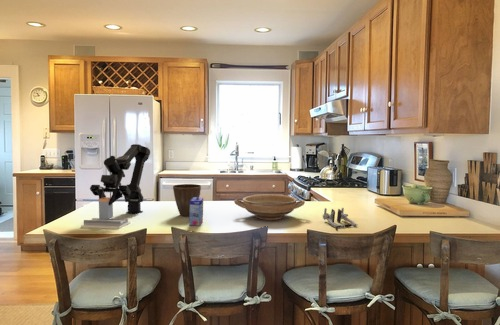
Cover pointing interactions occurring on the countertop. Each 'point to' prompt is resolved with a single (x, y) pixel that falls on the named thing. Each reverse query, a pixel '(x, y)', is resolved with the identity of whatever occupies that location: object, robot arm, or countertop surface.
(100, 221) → the rail plate
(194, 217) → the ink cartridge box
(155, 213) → the countertop surface
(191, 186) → the plant pot
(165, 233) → the countertop surface
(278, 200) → the ceramic bowl
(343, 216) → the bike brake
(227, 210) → the countertop surface
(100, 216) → the block
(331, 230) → the countertop surface
